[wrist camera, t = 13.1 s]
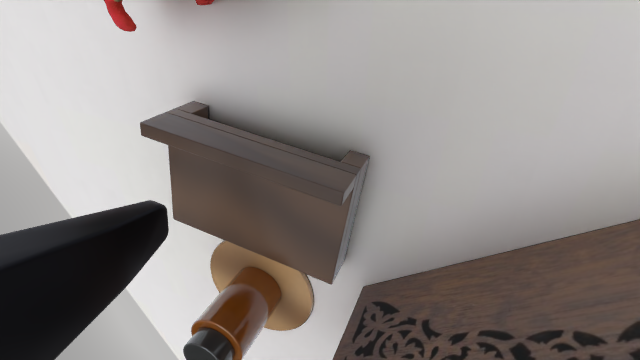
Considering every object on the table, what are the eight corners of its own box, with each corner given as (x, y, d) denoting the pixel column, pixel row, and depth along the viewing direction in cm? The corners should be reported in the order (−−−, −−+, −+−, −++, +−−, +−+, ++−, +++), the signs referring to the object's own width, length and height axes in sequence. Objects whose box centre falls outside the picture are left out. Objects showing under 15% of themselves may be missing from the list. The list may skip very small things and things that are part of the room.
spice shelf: (344, 260, 25) (319, 308, 22) (196, 201, 28) (151, 235, 25) (370, 156, 21) (344, 193, 18) (193, 100, 24) (139, 122, 21)
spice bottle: (279, 314, 30) (228, 393, 24) (236, 294, 31) (177, 366, 25) (284, 278, 28) (230, 356, 22) (237, 258, 29) (174, 328, 23)
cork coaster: (305, 343, 31) (303, 347, 31) (213, 299, 33) (210, 303, 33) (322, 262, 26) (319, 266, 26) (213, 219, 28) (209, 221, 28)
